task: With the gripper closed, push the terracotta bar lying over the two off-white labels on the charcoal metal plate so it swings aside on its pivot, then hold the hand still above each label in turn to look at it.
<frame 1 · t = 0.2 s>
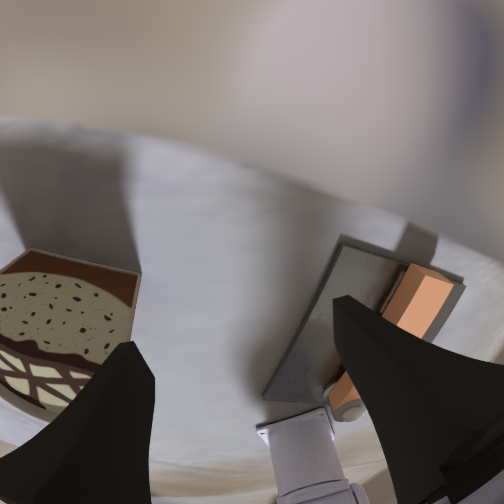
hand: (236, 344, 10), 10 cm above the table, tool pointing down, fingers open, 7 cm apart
swing bar: (384, 358, 22), point 2 cm above the table, hinge at 0.0°
label plate: (386, 320, 24), on the table
food container: (83, 294, 19), on the table
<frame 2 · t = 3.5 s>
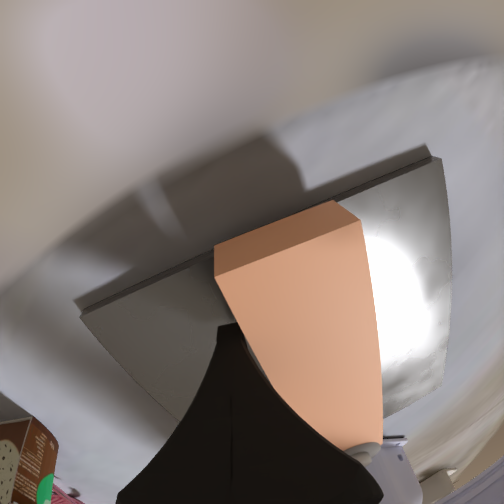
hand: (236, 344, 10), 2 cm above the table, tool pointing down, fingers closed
swing bar: (336, 400, 11), point 2 cm above the table, hinge at 2.7°, touching gripper
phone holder: (432, 479, 40), on the table
label plate: (301, 335, 13), on the table
spiral basket: (26, 473, 21), on the table
food container: (36, 438, 16), on the table
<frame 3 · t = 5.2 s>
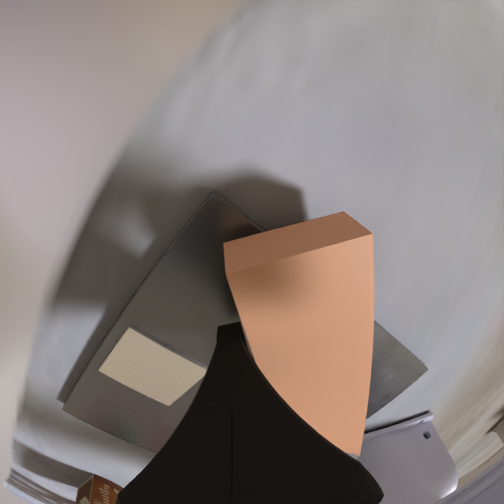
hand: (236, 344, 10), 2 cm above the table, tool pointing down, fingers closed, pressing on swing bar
swing bar: (321, 408, 12), point 3 cm above the table, hinge at 35.6°, touching gripper
label plate: (204, 386, 13), on the table
food container: (110, 489, 21), on the table
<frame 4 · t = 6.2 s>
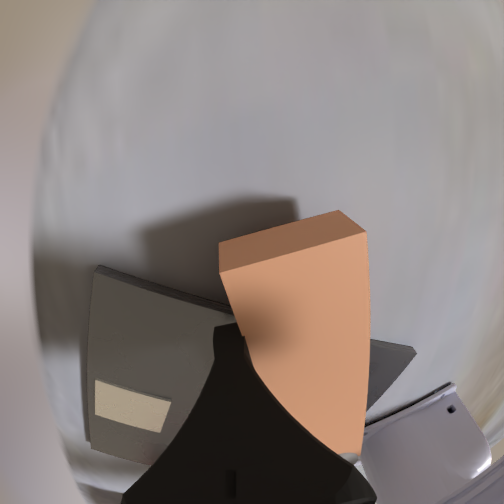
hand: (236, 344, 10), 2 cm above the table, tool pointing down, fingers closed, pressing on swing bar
swing bar: (320, 408, 12), point 2 cm above the table, hinge at 53.6°, touching gripper
label plate: (183, 412, 14), on the table
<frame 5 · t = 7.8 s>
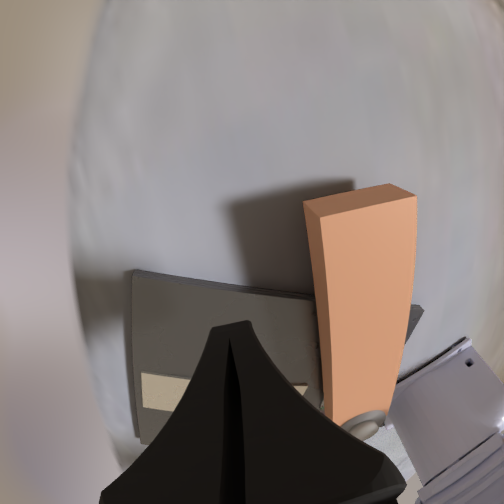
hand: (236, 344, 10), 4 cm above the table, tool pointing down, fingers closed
swing bar: (364, 358, 14), point 2 cm above the table, hinge at 64.8°
label plate: (222, 391, 17), on the table
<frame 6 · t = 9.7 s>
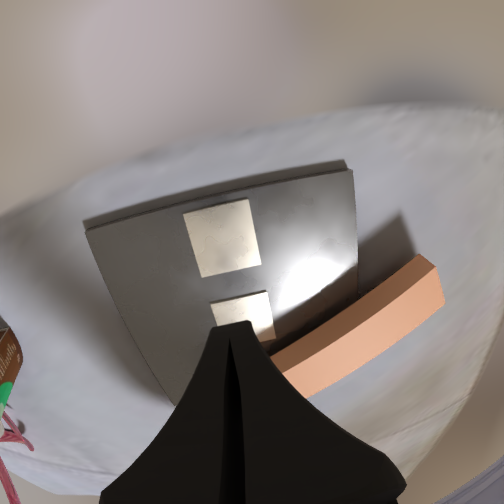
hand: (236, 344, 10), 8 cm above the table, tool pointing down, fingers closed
swing bar: (340, 351, 19), point 3 cm above the table, hinge at 64.8°
label plate: (234, 279, 18), on the table
food container: (3, 355, 19), on the table
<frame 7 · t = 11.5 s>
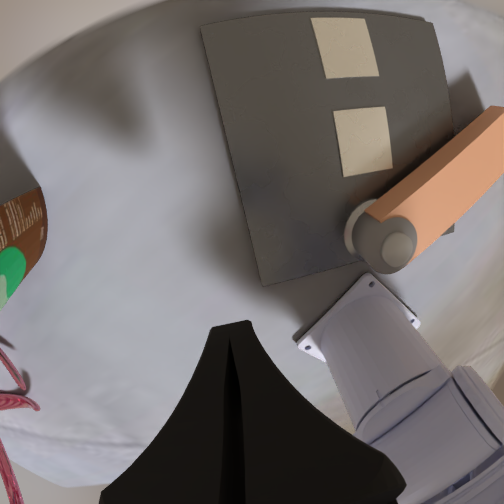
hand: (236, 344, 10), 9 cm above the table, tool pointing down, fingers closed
swing bar: (454, 183, 15), point 2 cm above the table, hinge at 64.8°
label plate: (351, 93, 15), on the table
food container: (17, 247, 16), on the table
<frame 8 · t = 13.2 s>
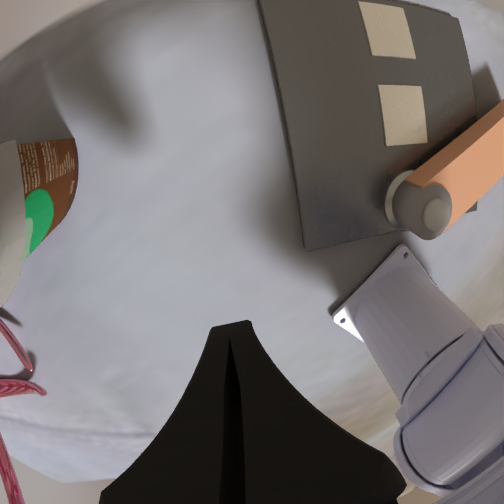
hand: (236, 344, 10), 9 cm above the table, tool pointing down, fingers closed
swing bar: (480, 160, 15), point 2 cm above the table, hinge at 64.8°
label plate: (392, 72, 15), on the table
food container: (38, 206, 16), on the table
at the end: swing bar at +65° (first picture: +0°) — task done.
